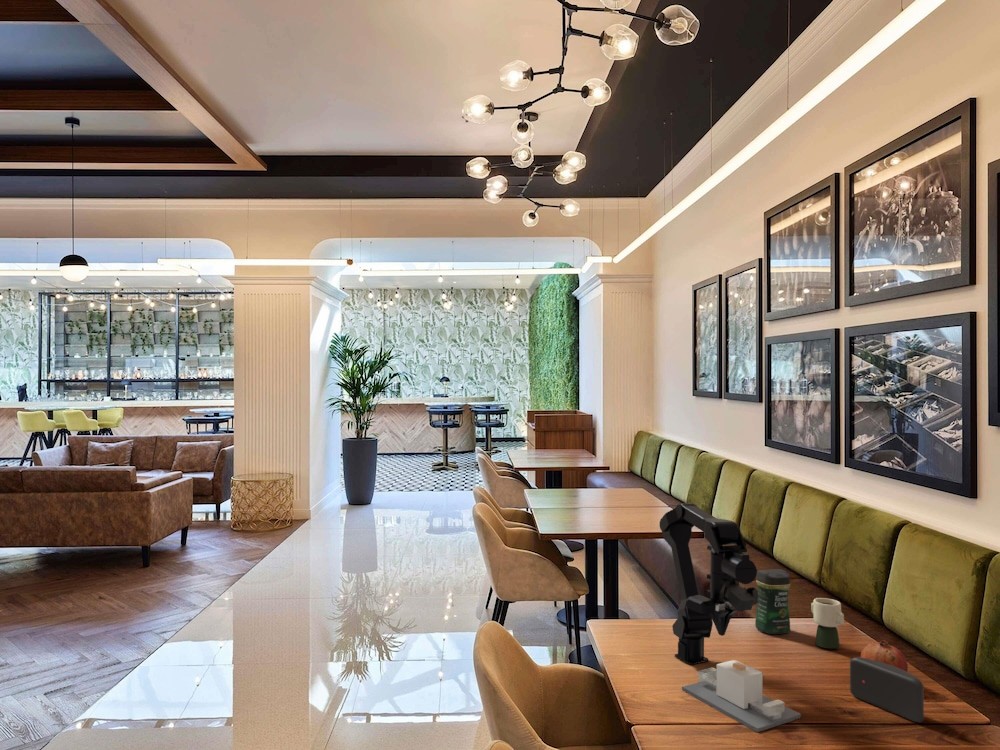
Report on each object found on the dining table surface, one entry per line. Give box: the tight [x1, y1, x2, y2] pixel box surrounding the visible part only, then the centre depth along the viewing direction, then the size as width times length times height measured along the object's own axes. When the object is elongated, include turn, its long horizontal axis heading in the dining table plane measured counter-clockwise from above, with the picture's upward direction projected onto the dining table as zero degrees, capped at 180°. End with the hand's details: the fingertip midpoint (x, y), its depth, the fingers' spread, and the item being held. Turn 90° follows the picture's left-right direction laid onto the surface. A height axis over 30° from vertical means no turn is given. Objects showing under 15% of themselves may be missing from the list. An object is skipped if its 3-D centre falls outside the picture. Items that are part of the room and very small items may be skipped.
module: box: [716, 659, 763, 709], centre depth 149 cm, size 6×8×8 cm
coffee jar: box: [754, 568, 791, 635], centre depth 197 cm, size 10×8×19 cm
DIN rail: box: [697, 667, 786, 721], centre depth 149 cm, size 5×21×3 cm, turn 28°
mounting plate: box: [681, 678, 802, 733], centre depth 148 cm, size 14×22×1 cm, turn 28°
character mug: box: [810, 597, 845, 650], centre depth 184 cm, size 11×7×13 cm, turn 21°
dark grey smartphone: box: [849, 656, 925, 724], centre depth 148 cm, size 16×5×9 cm, turn 30°
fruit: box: [860, 639, 909, 672], centre depth 162 cm, size 11×10×10 cm
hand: (721, 635), depth 160 cm, fingers closed
